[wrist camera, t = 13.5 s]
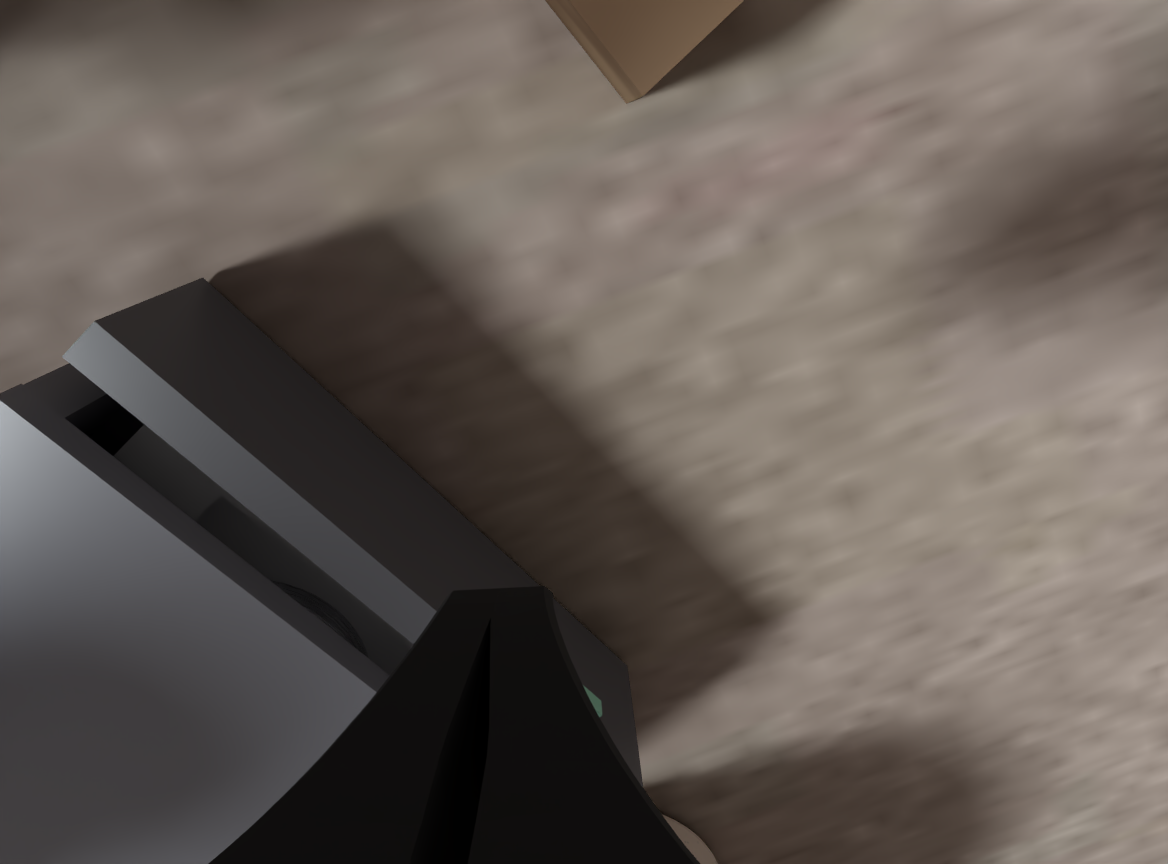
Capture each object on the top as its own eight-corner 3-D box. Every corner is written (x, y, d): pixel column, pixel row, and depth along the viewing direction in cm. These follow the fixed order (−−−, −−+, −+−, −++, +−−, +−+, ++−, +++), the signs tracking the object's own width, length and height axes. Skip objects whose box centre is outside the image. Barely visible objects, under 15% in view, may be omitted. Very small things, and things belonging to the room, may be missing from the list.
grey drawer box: (-113, 604, 21) (-322, 750, 16) (173, 297, 18) (26, 360, 13) (323, 888, 26) (267, 1067, 21) (606, 683, 23) (619, 836, 18)
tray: (-74, 571, 20) (-234, 682, 16) (210, 268, 17) (103, 310, 13) (356, 862, 25) (317, 1005, 21) (635, 660, 22) (652, 779, 18)
